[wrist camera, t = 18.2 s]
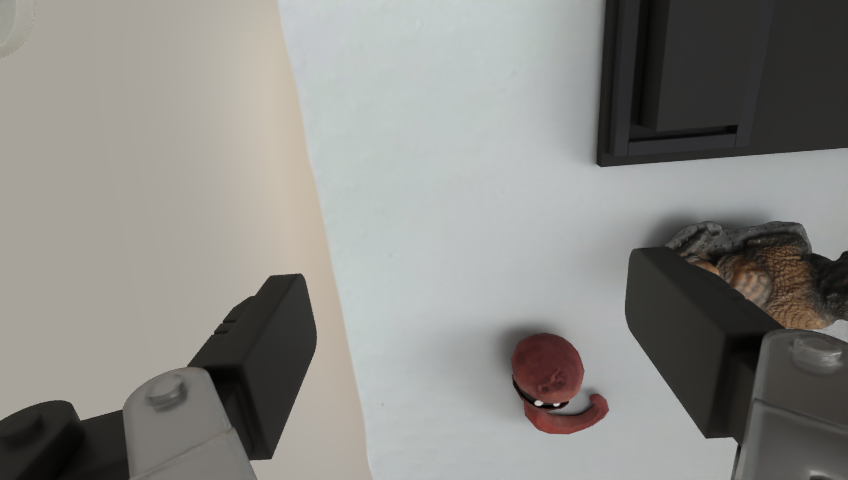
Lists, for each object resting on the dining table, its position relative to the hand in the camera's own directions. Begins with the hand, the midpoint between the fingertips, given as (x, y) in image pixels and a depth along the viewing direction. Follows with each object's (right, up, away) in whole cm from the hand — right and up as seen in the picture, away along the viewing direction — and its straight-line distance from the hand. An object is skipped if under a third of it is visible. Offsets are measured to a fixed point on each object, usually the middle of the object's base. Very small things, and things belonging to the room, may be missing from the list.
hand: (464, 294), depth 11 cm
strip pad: (+17, +16, +19) cm, 30 cm away
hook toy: (+12, -12, +32) cm, 36 cm away
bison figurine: (+24, +1, +27) cm, 36 cm away
